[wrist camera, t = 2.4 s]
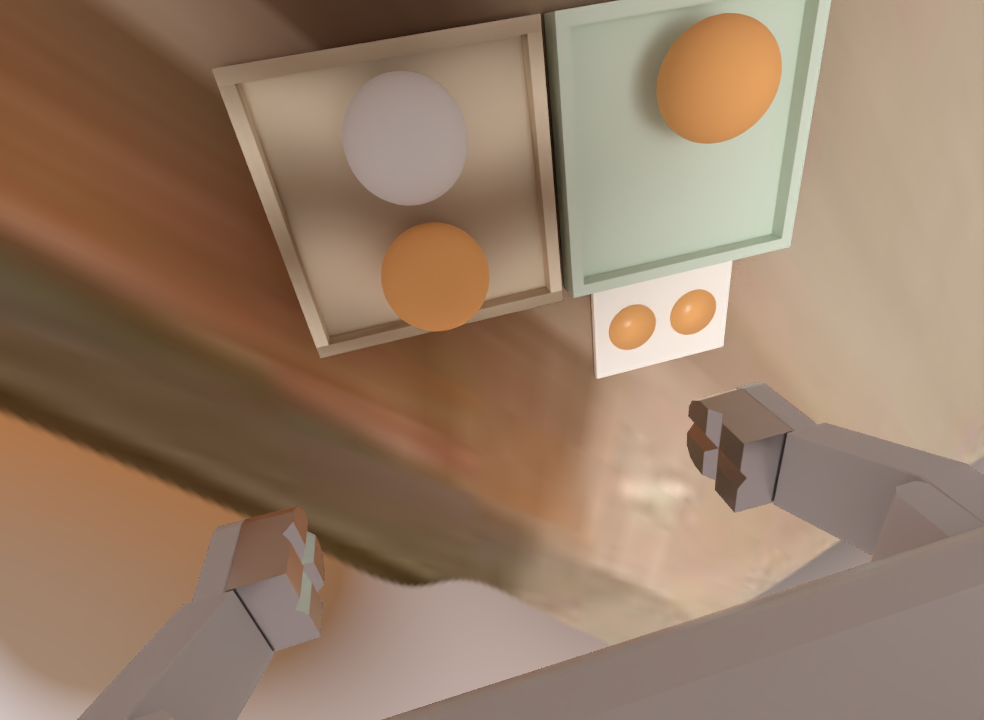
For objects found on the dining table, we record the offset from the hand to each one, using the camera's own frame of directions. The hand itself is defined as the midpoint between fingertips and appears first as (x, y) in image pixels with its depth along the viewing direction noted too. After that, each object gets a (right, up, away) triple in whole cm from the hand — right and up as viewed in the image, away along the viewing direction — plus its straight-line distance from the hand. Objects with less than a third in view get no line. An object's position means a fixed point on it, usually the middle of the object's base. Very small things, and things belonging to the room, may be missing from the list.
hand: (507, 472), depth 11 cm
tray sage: (+7, +11, +11) cm, 17 cm away
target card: (+8, +4, +15) cm, 18 cm away
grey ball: (-3, +10, +8) cm, 14 cm away
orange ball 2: (+7, +13, +9) cm, 17 cm away
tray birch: (-3, +9, +10) cm, 13 cm away
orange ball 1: (-3, +6, +10) cm, 13 cm away
